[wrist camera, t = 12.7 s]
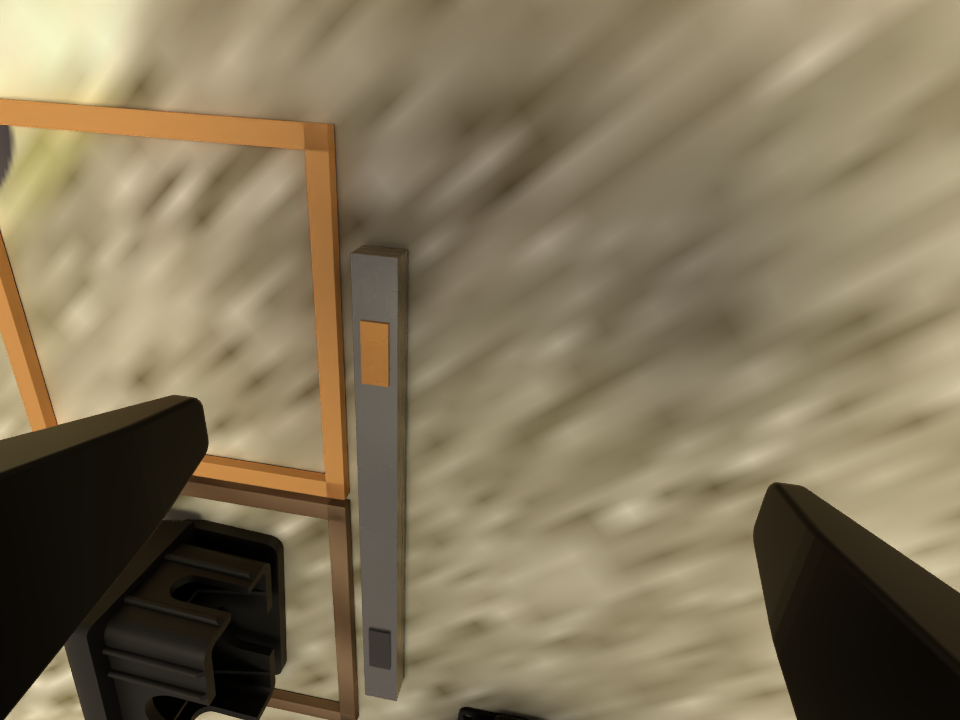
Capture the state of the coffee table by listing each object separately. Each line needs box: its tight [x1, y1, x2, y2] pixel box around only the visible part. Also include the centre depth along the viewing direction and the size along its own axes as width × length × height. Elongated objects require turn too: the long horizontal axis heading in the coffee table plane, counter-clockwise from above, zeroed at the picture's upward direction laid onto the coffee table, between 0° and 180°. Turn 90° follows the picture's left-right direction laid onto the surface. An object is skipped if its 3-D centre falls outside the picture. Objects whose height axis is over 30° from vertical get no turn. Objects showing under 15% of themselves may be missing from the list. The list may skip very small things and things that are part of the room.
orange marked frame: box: [0, 99, 349, 500], centre depth 21 cm, size 15×15×1 cm
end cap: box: [64, 519, 286, 720], centre depth 25 cm, size 10×7×7 cm
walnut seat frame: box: [180, 475, 359, 720], centre depth 28 cm, size 15×15×1 cm
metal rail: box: [350, 245, 408, 701], centre depth 23 cm, size 22×2×1 cm, turn 176°
